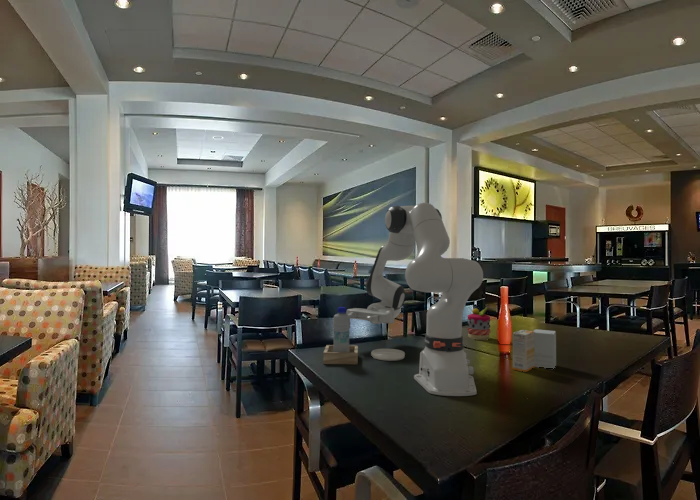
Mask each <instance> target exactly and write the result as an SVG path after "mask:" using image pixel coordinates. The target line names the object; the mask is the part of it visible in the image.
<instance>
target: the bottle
mask: <svg viewBox="0 0 700 500" xmlns="http://www.w3.org/2000/svg"><path fill="white" fill-rule="evenodd" d="M346 312H347V308H346V307H345V306H339V307H337V312H336V313H335V314H334V315H333V318H332V321H333V322H332V328H333V344H332V345H333V352H350V350H349V345H350V328H351V319H350V317H349V315H348V314H346Z"/></svg>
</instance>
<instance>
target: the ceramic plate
mask: <svg viewBox="0 0 700 500" xmlns="http://www.w3.org/2000/svg"><path fill="white" fill-rule="evenodd" d="M405 355H406V353H405V351H403V350H400V349H396V348H376V349H372V351H371V353H370V357H371V356H372V357H373V358H372V357H371V358H372V359H374V360H378V361H387V362H391V361H401V360H403V359H405V357H406V356H405Z"/></svg>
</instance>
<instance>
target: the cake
mask: <svg viewBox="0 0 700 500" xmlns="http://www.w3.org/2000/svg"><path fill="white" fill-rule="evenodd" d="M487 310H488V306H486V307H485V308H484V309H482V310H481V311H480V310H479V309H478V308H473V309H472V313H469V314H467V322H466V323H467V328H466V330H467V338H468V337H469V338H471V339H470V340H473V339H476V340H475V341H488V340H487V339H489V340H490V334H491V324H490V323H491V316H490V315H488V314H486V312H487ZM469 338H468V339H469Z"/></svg>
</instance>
